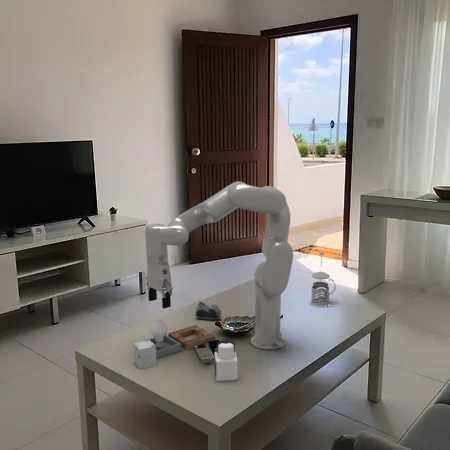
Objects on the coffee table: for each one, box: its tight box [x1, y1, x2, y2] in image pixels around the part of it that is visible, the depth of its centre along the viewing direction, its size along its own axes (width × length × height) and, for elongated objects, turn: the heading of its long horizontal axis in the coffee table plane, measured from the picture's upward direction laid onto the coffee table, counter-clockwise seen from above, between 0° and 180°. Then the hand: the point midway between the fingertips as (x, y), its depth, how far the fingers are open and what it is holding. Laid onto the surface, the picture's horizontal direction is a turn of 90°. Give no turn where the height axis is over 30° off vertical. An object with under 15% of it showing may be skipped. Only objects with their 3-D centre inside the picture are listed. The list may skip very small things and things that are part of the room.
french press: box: [309, 251, 336, 308], centre depth 230 cm, size 10×12×25 cm
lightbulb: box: [149, 319, 169, 349], centre depth 185 cm, size 6×6×11 cm
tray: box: [140, 333, 182, 361], centre depth 185 cm, size 11×11×3 cm
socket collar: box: [167, 324, 216, 352], centre depth 194 cm, size 13×13×2 cm
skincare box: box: [133, 339, 157, 370], centre depth 175 cm, size 6×6×7 cm
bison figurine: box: [194, 301, 222, 321], centre depth 217 cm, size 12×7×10 cm
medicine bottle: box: [214, 339, 239, 382], centre depth 166 cm, size 7×7×12 cm
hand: (159, 303), depth 182 cm, fingers open, 9 cm apart
